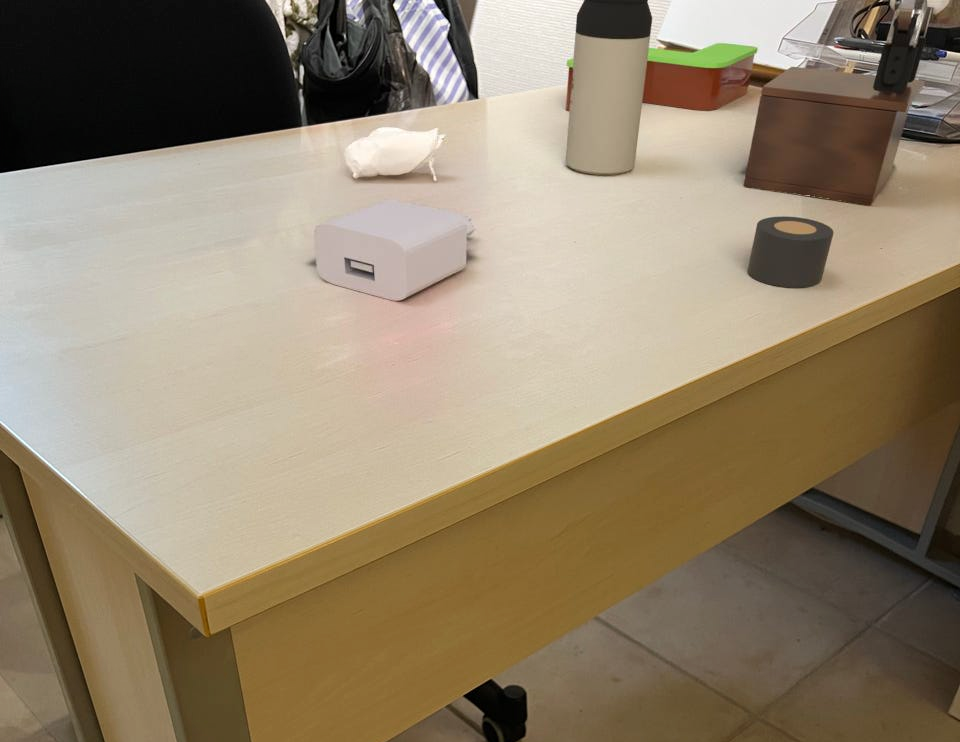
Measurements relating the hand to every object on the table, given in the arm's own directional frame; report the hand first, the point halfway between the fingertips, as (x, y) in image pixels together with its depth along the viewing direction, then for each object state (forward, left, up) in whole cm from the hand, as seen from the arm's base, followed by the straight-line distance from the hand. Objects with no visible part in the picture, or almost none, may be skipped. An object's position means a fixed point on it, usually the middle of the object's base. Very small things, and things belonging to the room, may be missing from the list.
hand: (893, 84), depth 99 cm
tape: (+2, +33, -10) cm, 35 cm away
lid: (+5, 0, -1) cm, 5 cm away
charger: (+31, +48, -10) cm, 58 cm away
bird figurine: (+47, +25, -10) cm, 54 cm away
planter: (+34, -32, -10) cm, 48 cm away
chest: (+5, 0, -10) cm, 11 cm away
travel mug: (+29, +8, -10) cm, 32 cm away
